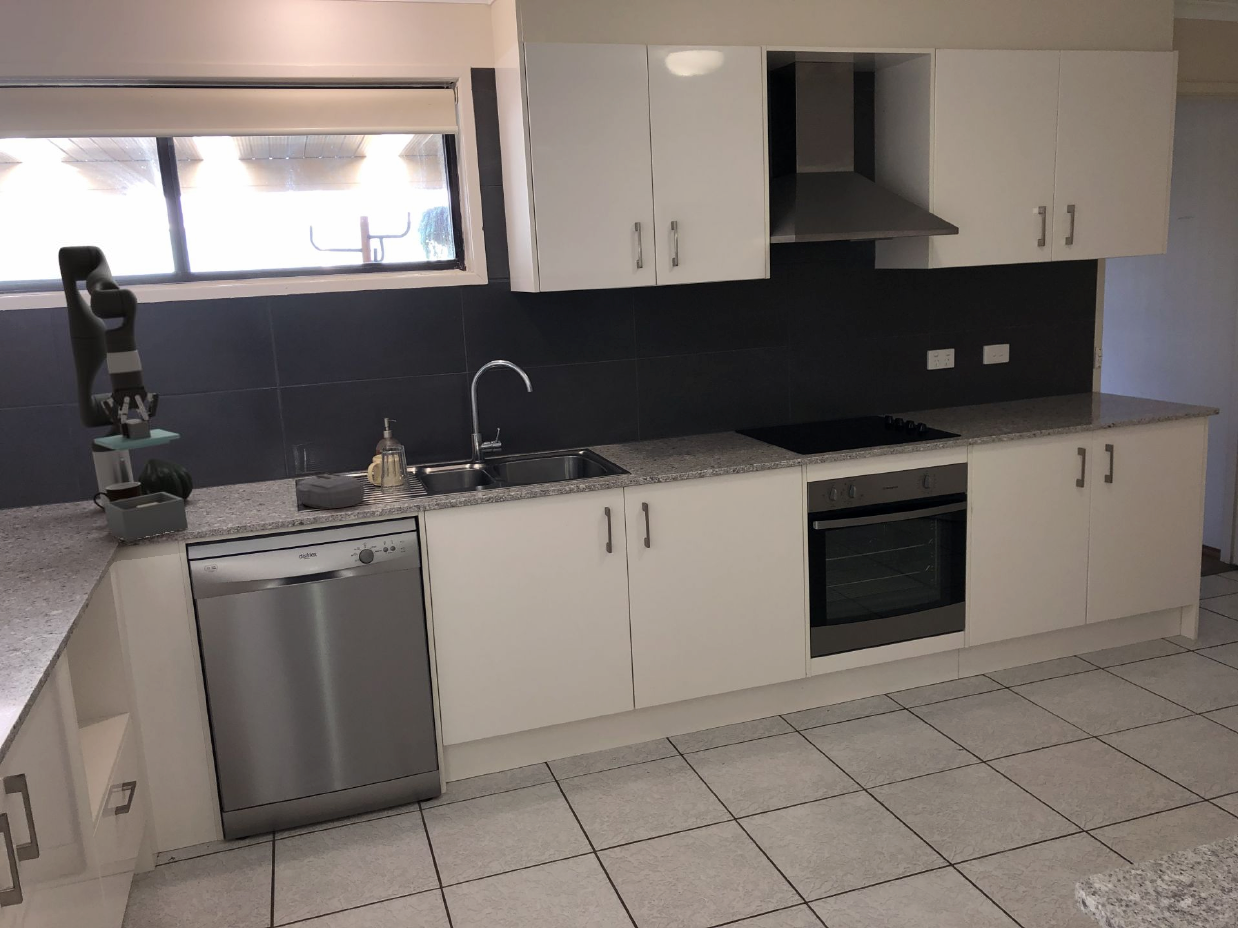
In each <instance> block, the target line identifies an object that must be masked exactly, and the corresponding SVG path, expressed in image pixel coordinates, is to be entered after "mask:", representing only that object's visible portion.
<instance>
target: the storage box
mask: <svg viewBox="0 0 1238 928" xmlns="http://www.w3.org/2000/svg"><path fill="white" fill-rule="evenodd" d="M184 501H185V500H183V499H182V498H179V497H177V496H174V495H171V494H168V493H166V492H159V493H154V494H149V495H144V496H139V497H134V498H129V499H124V500H119V501H114V502H109V503H104V507H105V510H104V511H105V512H104V513H105V517H106V518H105V519H106V523H107V528H108V534H109V535H111V536H113V537H116V538H118V537H119V538H118V539H120V538H123V539H124V540H125V541H126V542H125V541H124V542H125V543H132V542H135V540H136V541H138V540H137V539H138V538H144V537H146V536H153V535H156V534H163V533H165V532H171V531H176V532H178V531H177V530H180V529H185V530H187V529H186V528H188V529H189V525H188V520H187V514H186V513H187V511H186V507H185V502H184ZM180 531H181V530H180ZM163 535H164V534H163Z"/></svg>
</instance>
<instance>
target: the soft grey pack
mask: <svg viewBox="0 0 1238 928" xmlns="http://www.w3.org/2000/svg"><path fill="white" fill-rule="evenodd" d="M365 492H366V489H365V487H364V484H363V483H362V482H361V481H360V480H358V479H357V478H355V477H354V476H349V475H346V474H340V473H333V472H324V474H321V475H320V474H315V476H313V477H310V478H305V479H302V480H301V481H300V482H298V483H297V484H296V487H295V494H296V495H295V496H296V498H297V500H298V501H299V502H300V503H301V504H303V505H305V506H306V507H311V508H315V509H322V510H325V509H327V510H328V509H342V508H347V507H351V506H356V505H358V504H361V503H362V502H363V500H364V498H365Z"/></svg>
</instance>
